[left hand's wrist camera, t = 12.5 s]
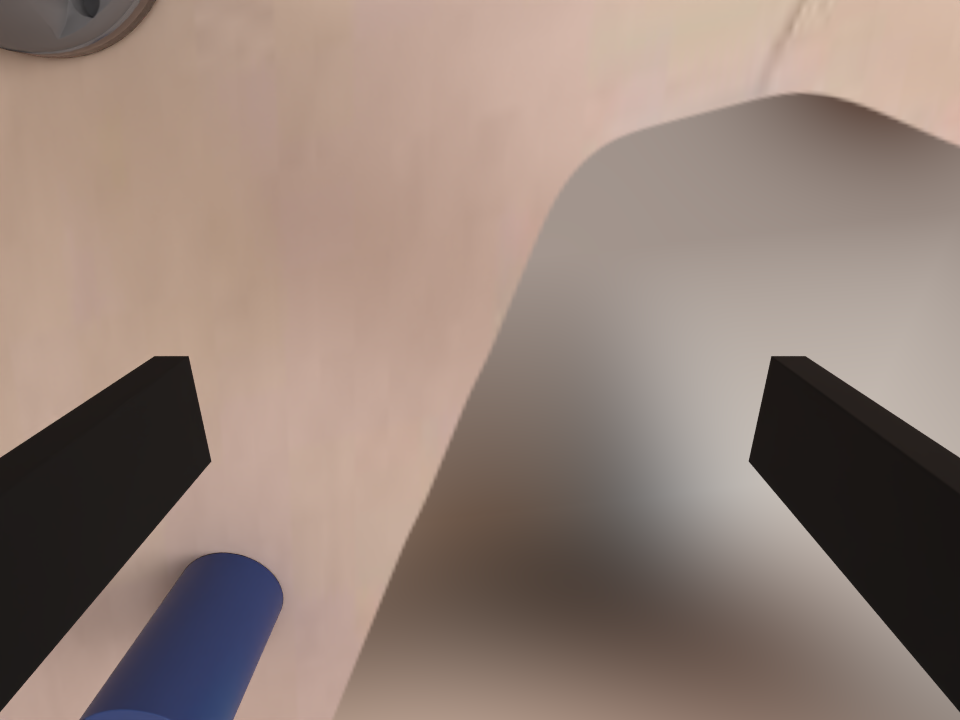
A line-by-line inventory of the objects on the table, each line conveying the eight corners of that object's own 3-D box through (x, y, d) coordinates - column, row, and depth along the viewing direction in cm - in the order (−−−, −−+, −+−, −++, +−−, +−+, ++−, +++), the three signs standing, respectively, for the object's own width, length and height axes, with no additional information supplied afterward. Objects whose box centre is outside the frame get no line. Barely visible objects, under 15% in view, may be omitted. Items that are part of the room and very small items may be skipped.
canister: (200, 636, 45) (101, 807, 33) (165, 559, 42) (43, 717, 30) (295, 625, 44) (228, 795, 33) (266, 546, 41) (182, 703, 30)
